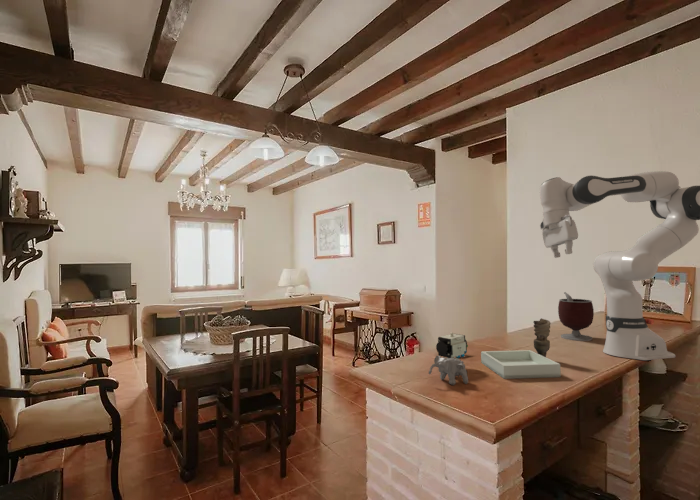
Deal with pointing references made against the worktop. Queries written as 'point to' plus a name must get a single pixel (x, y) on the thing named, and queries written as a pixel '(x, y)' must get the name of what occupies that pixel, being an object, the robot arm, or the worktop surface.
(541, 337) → the light bulb
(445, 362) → the gray elephant figurine
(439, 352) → the pneumatic valve
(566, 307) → the mate gourd
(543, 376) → the tray
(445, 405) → the worktop surface
